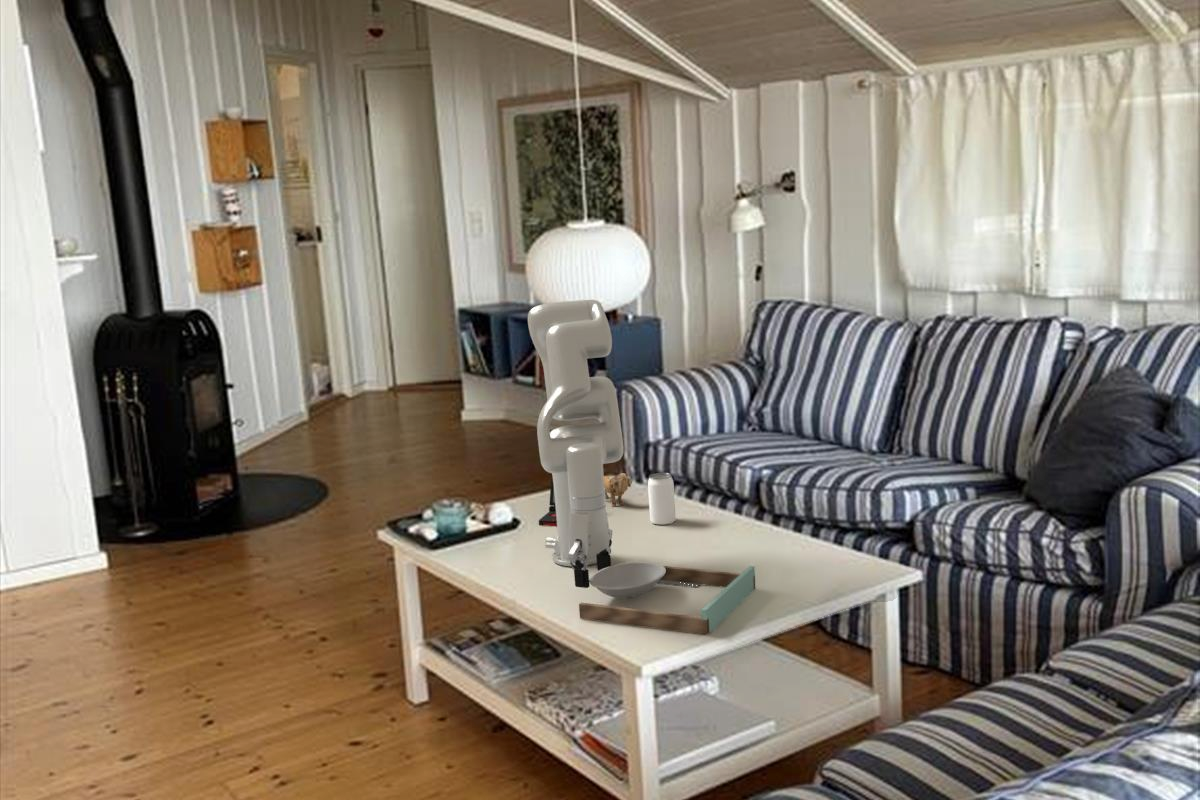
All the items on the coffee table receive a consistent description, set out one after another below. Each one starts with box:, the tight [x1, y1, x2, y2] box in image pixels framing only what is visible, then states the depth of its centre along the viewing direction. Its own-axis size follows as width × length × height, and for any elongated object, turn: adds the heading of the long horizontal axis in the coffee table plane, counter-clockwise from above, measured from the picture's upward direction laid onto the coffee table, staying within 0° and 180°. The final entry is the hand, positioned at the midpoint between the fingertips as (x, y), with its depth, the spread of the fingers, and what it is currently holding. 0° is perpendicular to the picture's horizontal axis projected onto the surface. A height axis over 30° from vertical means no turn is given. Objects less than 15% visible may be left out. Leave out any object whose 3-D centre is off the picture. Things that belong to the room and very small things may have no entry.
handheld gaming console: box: [538, 476, 557, 527], centre depth 314 cm, size 9×12×10 cm
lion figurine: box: [604, 472, 633, 508], centre depth 325 cm, size 15×5×9 cm, turn 37°
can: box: [647, 472, 677, 526], centre depth 305 cm, size 6×6×12 cm
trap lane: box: [578, 565, 756, 635], centre depth 250 cm, size 28×26×5 cm
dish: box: [589, 561, 666, 599], centre depth 255 cm, size 18×14×5 cm
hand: (593, 579), depth 258 cm, fingers open, 9 cm apart
